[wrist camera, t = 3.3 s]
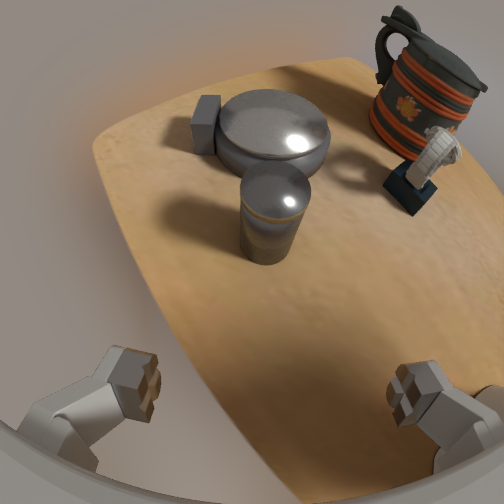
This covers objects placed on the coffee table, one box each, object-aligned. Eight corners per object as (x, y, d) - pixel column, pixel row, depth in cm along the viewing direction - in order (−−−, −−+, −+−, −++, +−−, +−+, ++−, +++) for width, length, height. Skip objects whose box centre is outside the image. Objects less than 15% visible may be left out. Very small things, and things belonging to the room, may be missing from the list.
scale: (329, 192, 30) (342, 163, 25) (185, 179, 30) (178, 149, 25) (319, 117, 36) (327, 91, 31) (207, 107, 35) (205, 79, 31)
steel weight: (290, 267, 26) (313, 220, 18) (237, 263, 26) (236, 213, 18) (291, 221, 28) (310, 164, 20) (242, 217, 28) (243, 157, 20)
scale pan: (331, 166, 27) (333, 161, 26) (211, 154, 27) (210, 149, 26) (320, 100, 32) (322, 96, 31) (227, 91, 32) (227, 86, 31)
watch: (431, 195, 31) (473, 144, 21) (406, 223, 29) (457, 167, 19) (403, 167, 33) (439, 111, 23) (374, 191, 31) (415, 127, 21)
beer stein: (329, 101, 38) (359, -6, 19) (375, 87, 42) (405, 4, 23) (422, 180, 32) (495, 76, 14) (451, 150, 36) (503, 71, 18)
